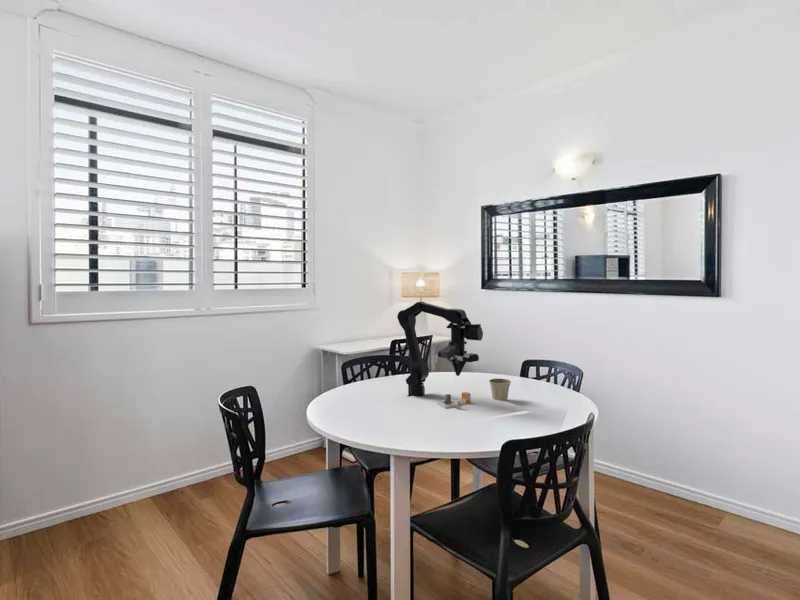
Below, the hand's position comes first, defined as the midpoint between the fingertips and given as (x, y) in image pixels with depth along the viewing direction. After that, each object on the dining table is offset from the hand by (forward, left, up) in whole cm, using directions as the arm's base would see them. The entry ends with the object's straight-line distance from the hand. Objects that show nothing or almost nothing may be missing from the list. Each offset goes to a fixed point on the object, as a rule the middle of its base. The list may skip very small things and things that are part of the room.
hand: (457, 375), depth 204 cm
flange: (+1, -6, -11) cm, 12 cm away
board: (-1, -9, -12) cm, 15 cm away
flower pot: (+16, +10, -12) cm, 22 cm away
